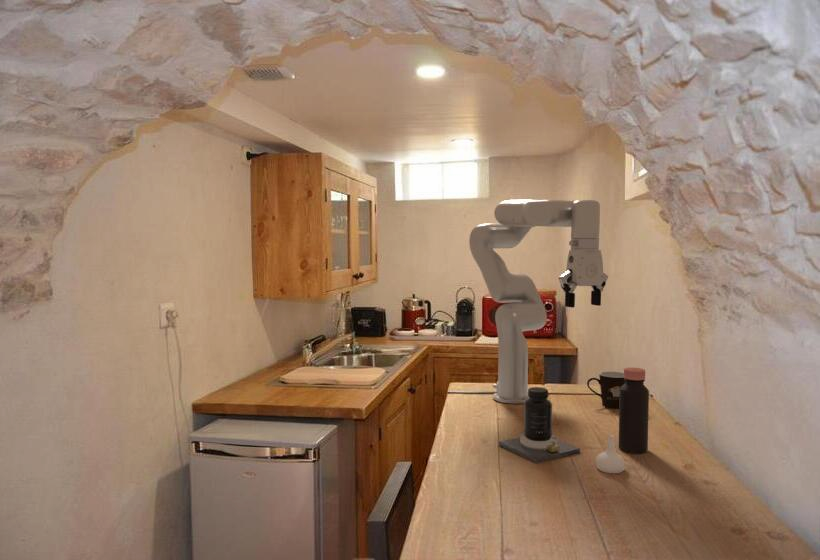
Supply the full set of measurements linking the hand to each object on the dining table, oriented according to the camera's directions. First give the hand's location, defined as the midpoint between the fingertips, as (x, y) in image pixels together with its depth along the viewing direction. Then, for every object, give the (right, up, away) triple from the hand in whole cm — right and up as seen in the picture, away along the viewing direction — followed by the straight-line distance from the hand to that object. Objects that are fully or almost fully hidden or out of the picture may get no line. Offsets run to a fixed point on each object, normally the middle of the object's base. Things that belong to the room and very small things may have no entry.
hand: (582, 306), depth 167 cm
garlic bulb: (-3, -36, -32) cm, 48 cm away
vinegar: (+7, -35, -19) cm, 40 cm away
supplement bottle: (-17, -32, -19) cm, 41 cm away
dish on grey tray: (-16, -35, -19) cm, 43 cm away
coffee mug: (+14, -32, +20) cm, 41 cm away
